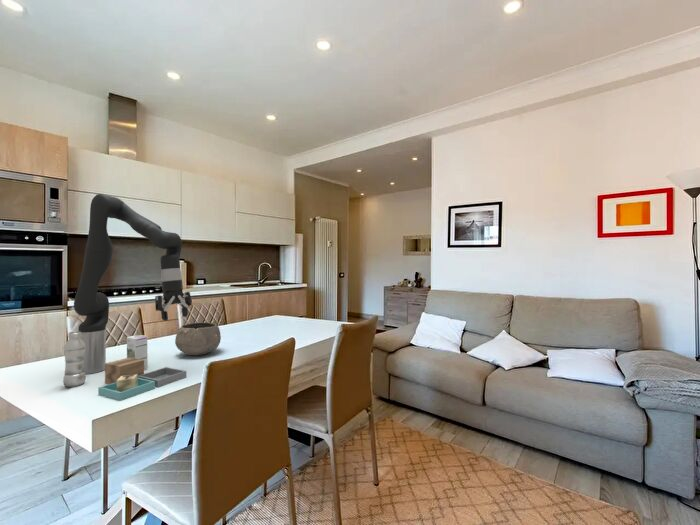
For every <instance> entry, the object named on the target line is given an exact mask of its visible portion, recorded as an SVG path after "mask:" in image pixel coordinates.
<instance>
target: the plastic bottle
mask: <svg viewBox="0 0 700 525" xmlns="http://www.w3.org/2000/svg"><path fill="white" fill-rule="evenodd" d="M80 337H81V332H80V331H71V332H68V335H67V338H68V340H66V342H65V343H64V345H63V348H62V349H63V355H64V362H65V363H64V364H65V365H64V366H65V367H64V375H63V378H62V379H63V380H62V383H63V385H64V387H66V388H73V387H79V386H82V385H84V383H85V381H86V374H85V372H84V360H83V359H84V352H85V343H84V341H83V340H82V339H81V338H80Z"/></svg>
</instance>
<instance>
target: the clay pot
mask: <svg viewBox="0 0 700 525" xmlns="http://www.w3.org/2000/svg"><path fill="white" fill-rule="evenodd" d="M221 337H222V336H221V330H220V327H219V326H218V324H217V323H215V322H214V323H213V322H191V323H187V324H183V325H180V327H179V329H178V331H177V332H176V336H175V341H174V342H175V343H174V344H175V346H176V348H177V349H178V350H179V351H180V352H182V353H183V354H187V355H190V356H202V355H206V354H209V353H211V352H213V351H214V350H216V349H217V348H218V347H219V346H220V343H221V340H222V338H221Z"/></svg>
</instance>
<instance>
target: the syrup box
mask: <svg viewBox="0 0 700 525" xmlns="http://www.w3.org/2000/svg"><path fill="white" fill-rule="evenodd" d="M148 356H149V354H148V336H147V335H144V334H143V335H142V334H136V335H131V336H127V337H126V358H129V357H130V358H135V359H141V360H144V369H145V370H148V369H147V368H148V366H149V365H148V361H149V360H148Z"/></svg>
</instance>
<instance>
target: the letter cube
mask: <svg viewBox="0 0 700 525" xmlns="http://www.w3.org/2000/svg"><path fill="white" fill-rule="evenodd" d="M137 384H138V374H135V375H125V376H121V377H120V378H119V379H118V380H117V391H119V392H123V391H126V390H129V389H132V388H135V387H137Z"/></svg>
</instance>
